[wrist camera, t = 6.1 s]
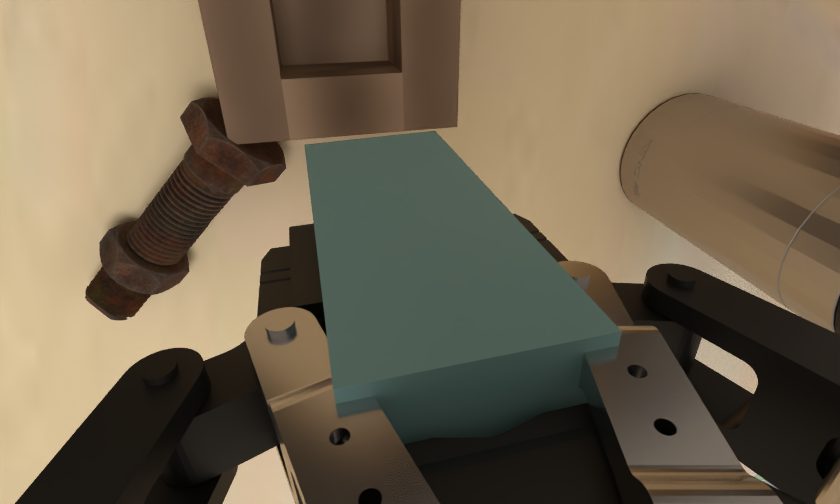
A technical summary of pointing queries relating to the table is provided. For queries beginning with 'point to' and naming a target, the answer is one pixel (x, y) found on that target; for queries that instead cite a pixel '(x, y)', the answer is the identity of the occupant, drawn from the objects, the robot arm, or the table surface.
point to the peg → (441, 293)
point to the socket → (333, 66)
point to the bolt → (179, 213)
